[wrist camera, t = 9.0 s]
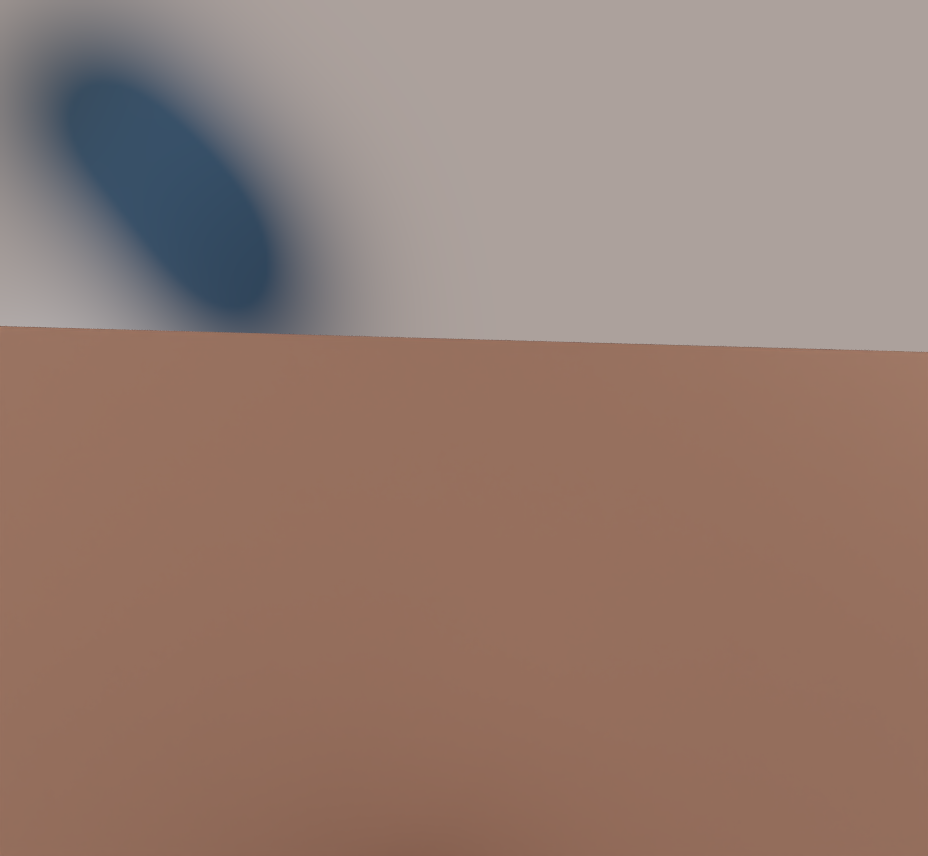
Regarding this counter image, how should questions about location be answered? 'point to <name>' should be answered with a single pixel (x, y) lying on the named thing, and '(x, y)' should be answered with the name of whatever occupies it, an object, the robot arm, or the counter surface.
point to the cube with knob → (460, 597)
